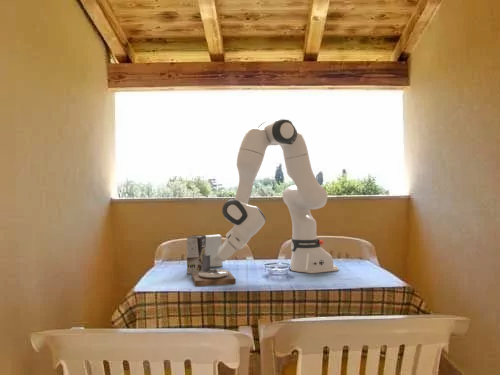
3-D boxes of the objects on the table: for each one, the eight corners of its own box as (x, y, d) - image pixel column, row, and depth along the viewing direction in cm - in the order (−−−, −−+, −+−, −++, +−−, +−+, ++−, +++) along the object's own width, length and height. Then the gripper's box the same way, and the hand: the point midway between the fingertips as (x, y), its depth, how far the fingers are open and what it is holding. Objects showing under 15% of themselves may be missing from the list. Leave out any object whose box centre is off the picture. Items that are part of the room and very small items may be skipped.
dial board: (229, 275, 195) (229, 270, 195) (235, 283, 180) (235, 278, 180) (192, 277, 191) (192, 272, 191) (195, 285, 177) (195, 280, 176)
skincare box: (220, 264, 220) (220, 234, 220) (222, 266, 214) (222, 235, 214) (203, 265, 218) (203, 234, 218) (205, 267, 212) (204, 236, 212)
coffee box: (200, 274, 197) (200, 237, 197) (186, 273, 199) (186, 237, 198) (206, 270, 206) (206, 235, 206) (193, 269, 208) (192, 234, 207)
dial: (233, 275, 185) (233, 255, 185) (212, 280, 177) (212, 259, 176) (214, 271, 193) (214, 252, 193) (192, 275, 185) (192, 256, 184)
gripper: (230, 231, 199) (208, 253, 199) (230, 237, 179) (205, 262, 178) (240, 241, 199) (218, 263, 199) (241, 248, 179) (217, 273, 179)
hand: (212, 263), depth 189 cm, fingers closed
